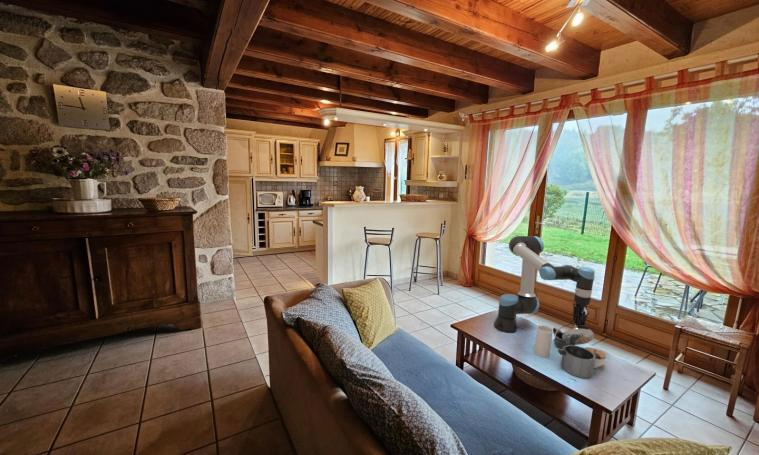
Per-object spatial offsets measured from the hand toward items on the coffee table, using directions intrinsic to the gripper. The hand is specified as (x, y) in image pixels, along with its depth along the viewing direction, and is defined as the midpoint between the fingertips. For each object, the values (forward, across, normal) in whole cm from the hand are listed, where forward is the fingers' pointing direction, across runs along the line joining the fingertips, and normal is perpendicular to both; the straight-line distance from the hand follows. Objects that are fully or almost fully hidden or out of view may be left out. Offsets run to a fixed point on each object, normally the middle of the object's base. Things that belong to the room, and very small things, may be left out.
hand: (576, 335), depth 180 cm
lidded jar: (+18, -2, +12) cm, 21 cm away
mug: (+18, -21, +2) cm, 28 cm away
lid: (-1, +3, 0) cm, 3 cm away
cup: (+18, -8, -14) cm, 24 cm away
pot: (+18, +6, 0) cm, 18 cm away
